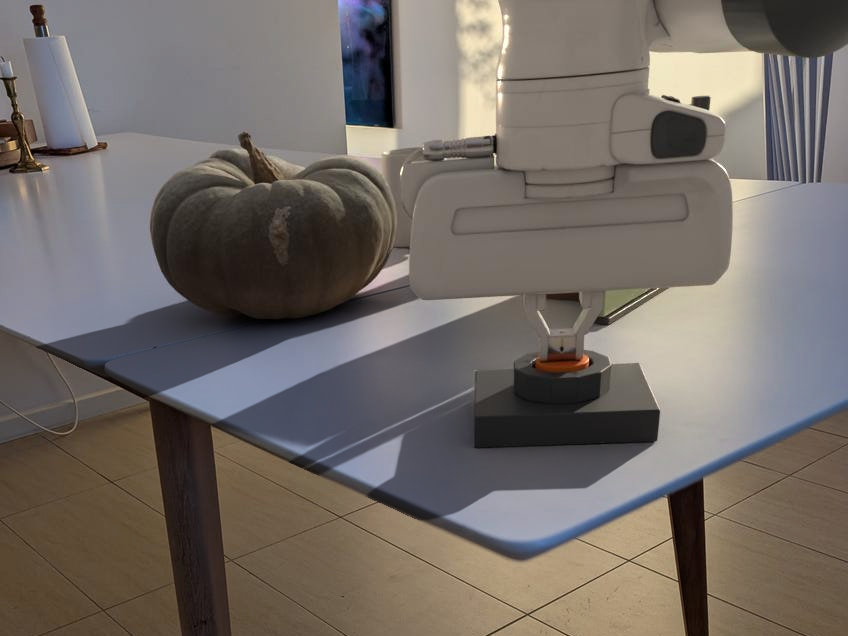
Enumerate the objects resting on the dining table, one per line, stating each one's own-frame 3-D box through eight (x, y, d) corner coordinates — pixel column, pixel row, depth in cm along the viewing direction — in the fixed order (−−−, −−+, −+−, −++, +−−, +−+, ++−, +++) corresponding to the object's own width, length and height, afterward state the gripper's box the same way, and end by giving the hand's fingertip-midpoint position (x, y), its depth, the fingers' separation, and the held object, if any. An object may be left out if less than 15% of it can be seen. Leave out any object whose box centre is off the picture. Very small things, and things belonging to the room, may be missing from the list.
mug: (377, 248, 123) (371, 156, 117) (398, 235, 129) (393, 148, 123) (463, 247, 119) (461, 152, 112) (480, 234, 125) (479, 143, 119)
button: (585, 374, 65) (586, 350, 64) (589, 391, 62) (591, 365, 61) (533, 377, 65) (534, 352, 65) (536, 393, 62) (536, 368, 62)
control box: (637, 391, 68) (641, 337, 66) (657, 442, 60) (663, 382, 58) (475, 398, 70) (475, 345, 68) (474, 448, 62) (473, 390, 60)
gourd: (203, 257, 112) (195, 96, 101) (403, 284, 110) (418, 122, 98) (127, 337, 93) (106, 150, 82) (366, 371, 91) (379, 184, 80)
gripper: (393, 148, 54) (406, 379, 62) (756, 121, 51) (722, 366, 59) (402, 137, 59) (413, 351, 67) (731, 112, 56) (703, 338, 64)
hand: (560, 358), depth 63 cm, fingers closed, pressing on button
